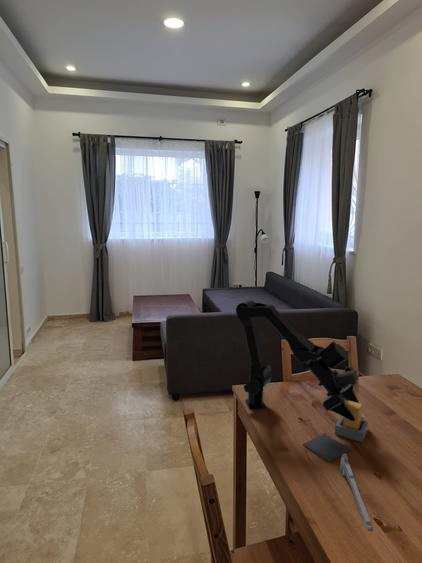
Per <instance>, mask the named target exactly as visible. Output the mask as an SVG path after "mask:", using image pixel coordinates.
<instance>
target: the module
mask: <svg viewBox="0 0 422 563" xmlns="http://www.w3.org/2000/svg"><path fill="white" fill-rule="evenodd" d="M346 405H347V407H348V408H349V410H350V411H351V413H352V414H353V416H354V418H355V420H354V421H351V420H349V419H347V418H345V417H344V420H343V426H345V427H349V428H352V429H356V430H359V431H361V429H360V426H361V419H362V409H363V404H362V403H360V402H359V403H357V402H353V401H349V400H346Z"/></svg>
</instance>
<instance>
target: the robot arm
mask: <svg viewBox="0 0 422 563" xmlns="http://www.w3.org/2000/svg"><path fill="white" fill-rule="evenodd" d="M235 313H236V316H237V318H238V321H239V323H240V324H241V325H242V327H243V329H244V334H245V340H246V345H247V350H248V354H249V360H250V370H249V381H248V382H247V383H246V384H244V385H243V389H244V391H245V392H246V393H247V399H245V401H246V402H245V403H246V405H247V407H248V409H262V408H264V409H265V408H267V405H266V404H265V402H264V388H265V387H266V386H267V385H269V383H270V382H271V380H272V376H274V374H273V373H272V367H271V365H270V364H269V365H267V364H266V362H265V361H264V355H263V350H262V344H261V340H260V334H259V330H258V325H257V324H258V318H259V317H260V318H265V319H266V320H267V321H268V322H269V323H270V324H271V325H272V326H273V327H274V328H275V330H276V331H277V332H278V333H279V334H280V335H281V337H283V339H284V340H285V341H286V342H287V344H288V345H289V349H290V351H291V352H292V354H293V356H294V357H295V358H296V360H298V361H299V362H303V363H302V364H303V365H302V366H303V367H302V371H303V372H306V371H307V370H309V371H310V372H311V373H312V375H313V376H314V377H315V378H316V380H317V381H318V383H317V384H318V386H319V387H321V386H322V387H323V388H324V390H326V392H327V393H326V395H327V397H326V398H325V399H324V400H323V402H322V407H323V408H324V409H325V410H326V412H328V411H329V412H333V413H335V414H338V415H340V416H341V415H342V416H343V417H345V418H347V419H349V420H351V421H354V420H355V418H354V416H353V414H352V413H351V411H350V410H349V408H348V407H347V405H346V402H347V400H349V401H353V402H357V403H360V402H359V399H358V397H357V395H356V392H355V386H356V384H357V382H358V381H359V378H358V375H357V373H358V371H357V370H356V369H354V368H353V367H352V366H350V365H349V366H346V367H345V369H344V371H342V372H340V373H339V372H338V371H337V370H332V368H336V367H337V366H338V365H340V364H341V363H343V362H344V361H346V360H348V358H349V353H348V352H347V351H346V349H345V347H343V346H341V345H340V344H339V343H336V342H335V340H332V341H331V342H330V343H329V344H328V345H327V346H326V347H323V346H320V345H316V344H315V343H313V341H311V340H310V339H308V338H307V337H306V336H303V335H301V334H300V333H299V332H298V331H297V330H295V328H294V327H293V326H292V325H291V324H290V322H288V321H287V320H286V319H285V317H284V316H283V315H282V314H281V313H280V312H279V311H278V310H277V309H276V306H275V305H274V304H272V303H271V304H270V303H269V304H268V303H263V302H255V301H254V300H251V299H248V300H246V301H242V302H241V303H238V304H237V305H236V307H235Z"/></svg>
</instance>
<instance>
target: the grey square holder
mask: <svg viewBox="0 0 422 563" xmlns="http://www.w3.org/2000/svg"><path fill="white" fill-rule="evenodd" d="M343 420H344V417H343V416H342V415H340V416H339V418H338V420H337V421H336V423H335V425H334V426H335V428H334V435H337V436H341V437H343V438H346V439H347V438H348V439H351V440H353V441H357V442H361V443H363V442H364V440H365V437H366V435H367V432H368V429H369V420H366V419H362V418H361V426H360V431H359V430H356V429H352V428H349V427H345V426H343Z"/></svg>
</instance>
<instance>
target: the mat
mask: <svg viewBox="0 0 422 563" xmlns="http://www.w3.org/2000/svg"><path fill="white" fill-rule="evenodd" d="M302 446H303V447H305V448H306V449H308V450H309V451H311V452H313V453H314V454H315V455H317V456H319V457H320V458H321V459H323V460H325V461H326V462H328V463H332V462H333V461H335V460H336V459H339V458H340V457H342V455H343V454H347V453H350V452H351V451H352V448H350V447H349V446H347V445H345V444H343V443H342V442H340V441H338V440H336V439H335V438H333V437H331V436H330V435H328V434H326V433H322V434H321V435H318V436H317V437H315V438H313V439H310V440H308V441H306V442H304V443H302Z"/></svg>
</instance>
